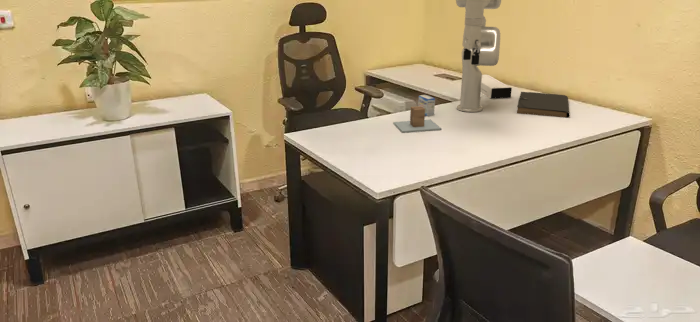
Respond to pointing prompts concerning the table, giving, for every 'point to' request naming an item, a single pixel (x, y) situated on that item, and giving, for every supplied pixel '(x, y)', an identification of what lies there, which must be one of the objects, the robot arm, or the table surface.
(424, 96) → the medicine box
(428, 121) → the slate board
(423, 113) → the walnut block
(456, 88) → the table surface
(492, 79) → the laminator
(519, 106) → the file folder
